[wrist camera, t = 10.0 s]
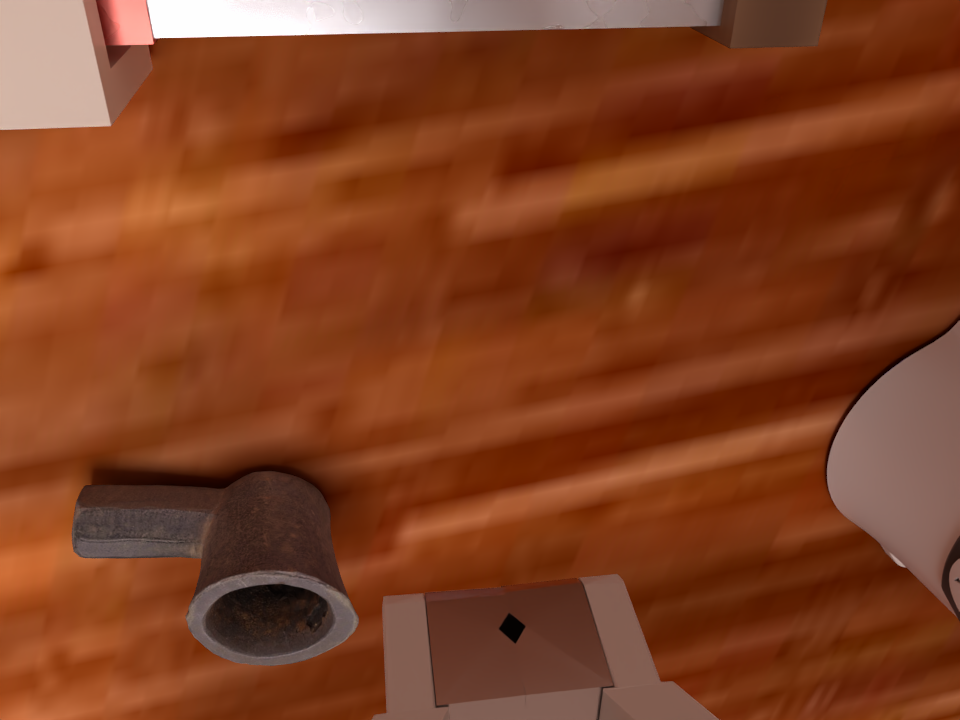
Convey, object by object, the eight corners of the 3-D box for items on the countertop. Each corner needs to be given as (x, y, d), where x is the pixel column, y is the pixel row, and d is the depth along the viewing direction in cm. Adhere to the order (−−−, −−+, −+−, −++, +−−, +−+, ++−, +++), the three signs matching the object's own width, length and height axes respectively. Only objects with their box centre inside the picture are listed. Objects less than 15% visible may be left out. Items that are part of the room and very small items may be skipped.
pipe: (88, 439, 39) (39, 565, 32) (362, 459, 42) (369, 577, 35) (90, 536, 42) (46, 669, 35) (346, 547, 45) (350, 672, 38)
